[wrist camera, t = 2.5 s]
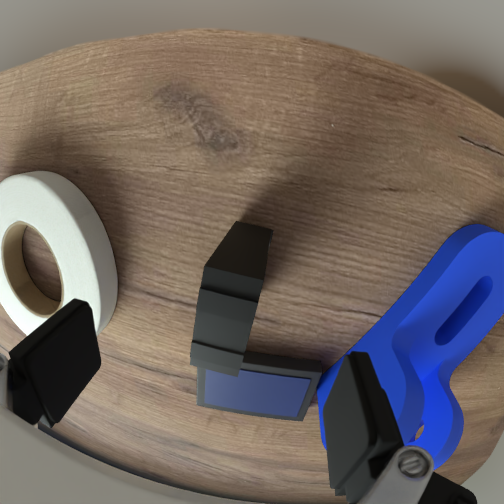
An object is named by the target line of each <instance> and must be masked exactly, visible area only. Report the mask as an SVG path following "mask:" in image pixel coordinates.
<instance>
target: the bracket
mask: <svg viewBox="0 0 504 504" xmlns="http://www.w3.org/2000/svg"><path fill="white" fill-rule="evenodd" d="M503 313H504V234H503V233H500V232H498V231H496V230H494V229H492V228H490V227H488V226H485V225H481V224H472V225H468V226H465V227H463V228H461V229H459V230H458V231H456V232H455V233H453V234H452V235H451V236H450V237H449V238H448V239H447V240H446V241H445V242H444V244H443V245H442V246H441V247H440V249H439V250H438V251H437V253H436V254H435V255H434V257H433V258H432V259H431V261H430V262H429V263H428V264H427V266H426V267H425V268H424V269H423V271H422V272H421V273H420V274H419V276H418V277H417V278H416V279H415V280H414V282H413V283H412V284H411V285H410V286H409V288H408V289H407V290H406V291H405V292H404V293H403V295H402V296H401V297H400V298H399V299H398V300H397V301H396V302H395V304H394V305H393V306H392V307H391V308H390V309H389V310H388V311H387V312H386V313H385V315H384V316H383V317H382V318H381V319H380V320H379V321H378V322H377V323H376V324H375V325H374V326H373V327H372V328H371V329H370V330H369V331H368V332H367V333H366V334H365V335H364V336H363V337H362V338H361V339H360V340H359V341H358V342H357V343H356V344H355V345H354V346H353V347H352V348H351V349H350V350H349V351H348V352H347V353H346V354H345V355H349V354H350V353H351V351H359V352H367V353H368V354H369V356H370V359H371V361H372V364H373V366H374V369H375V372H376V374H377V377H378V380H379V382H380V385H381V388H383V389H384V390H385V392H386V394H387V396H388V399H389V402H390V405H391V407H392V410H393V413H394V416H395V419H396V421H397V424H398V427H399V430H400V433H401V436H402V439H403V442H404V446H408V445H416V446H419V447H422V448H423V449H425V450H427V451H428V452H429V454H430V455H431V456H432V458H433V461H434V469H433V470H435V469H437V468H438V467H440V466H441V465H442V464H443V463H444V462H445V461H446V460H447V459H448V458H449V457H450V456H451V455H452V453H453V452H454V451H455V449H456V447H457V445H458V443H459V441H460V439H461V436H462V432H463V425H464V419H463V413H462V410H461V408H460V406H459V404H458V402H457V400H456V398H455V396H454V394H453V393H452V391H451V389H450V386H449V381H450V377H451V374H452V372H453V371H454V369H455V368H456V367H457V366H458V365H459V364H460V363H461V362H462V361H463V360H464V359H465V358H466V357H467V356H468V355H469V354H470V353H471V351H472V350H473V349H474V348H475V347H476V346H477V345H478V344H479V343H480V341H481V340H482V339H483V338H484V337H485V336H486V334H487V333H488V332H489V331H490V330H491V328H492V327H493V326H494V325H495V324H496V322H497V321H498V320H499V318H500V317H501V316H502V315H503ZM345 355H344V356H345ZM344 356H343V357H342V358H340V359H339V360H338V361H337V362H336V363H335V364H334V365H333V366H332V367H331V368H330V369H328V370H327V371H326V372H325V373H324V374H323V375H322V376H321V378H320V380H319V383H318V385H317V396H318V407H319V418H320V429H321V439H322V443H323V445H324V447H325V449H326V450H327V448H326V439H325V430H324V421H323V407H324V404H325V402H326V400H327V397H328V395H329V393H330V390H331V388H332V386H333V383H334V381H335V379H336V376H337V374H338V371H339V369H340V366H341V364H342V361H343V359H344ZM422 425H424V430H423V433H422V434H421V436H420V437H419V438H418V439H417V440H416V441H415V435H416V433H417V431H418V429H419V428H420V427H421V426H422Z"/></svg>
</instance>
